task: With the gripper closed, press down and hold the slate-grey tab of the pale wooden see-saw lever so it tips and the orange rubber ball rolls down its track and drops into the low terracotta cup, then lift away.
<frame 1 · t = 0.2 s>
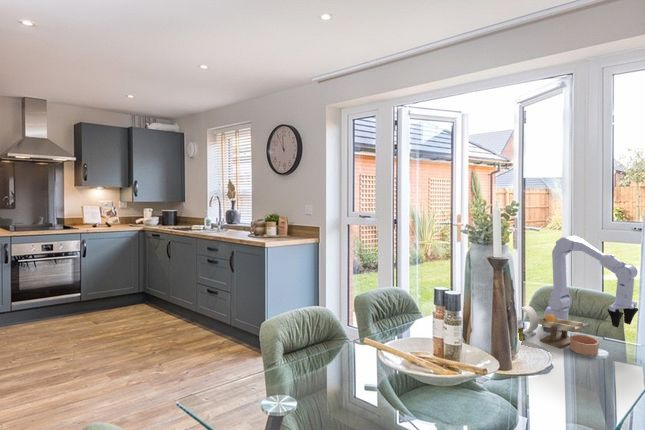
hand: (621, 325, 185), 10 cm above the table, tool pointing down, fingers open, 7 cm apart
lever: (564, 325, 193), point 7 cm above the table, hinge at -8.0°, touching ball
lever stand: (558, 341, 193), on the table
ball: (550, 318, 195), point 9 cm above the table, tilted 6°, touching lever
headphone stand: (528, 334, 201), on the table
pill bottle: (514, 343, 192), on the table
cup: (583, 349, 184), on the table
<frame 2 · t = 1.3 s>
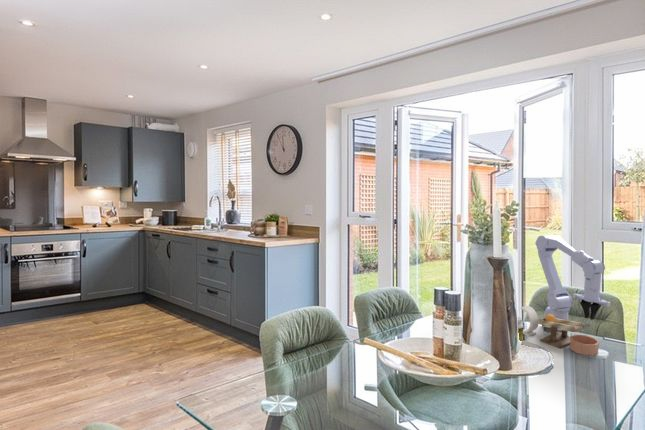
hand: (589, 318, 192), 10 cm above the table, tool pointing down, fingers closed
nothing on the table moved.
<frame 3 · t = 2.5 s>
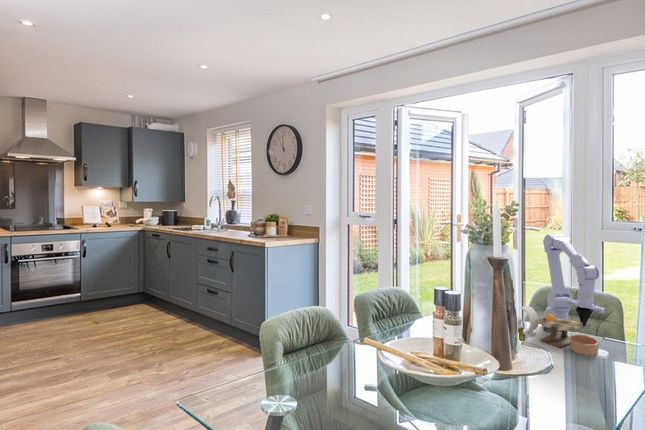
hand: (583, 324, 189), 9 cm above the table, tool pointing down, fingers closed, pressing on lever
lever: (564, 325, 193), point 7 cm above the table, hinge at -8.0°, touching ball, gripper
everything else where it was.
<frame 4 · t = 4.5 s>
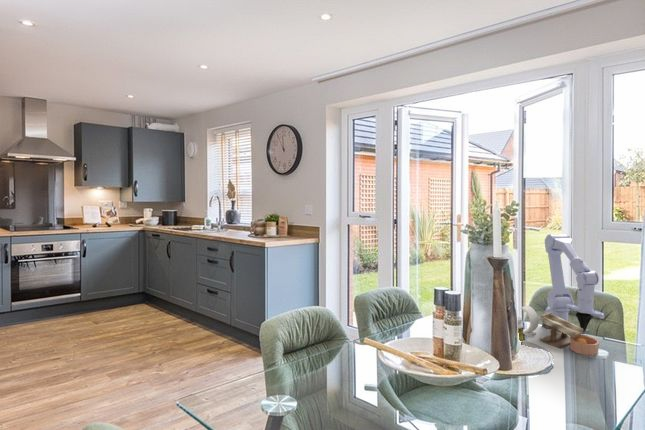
hand: (583, 329, 189), 6 cm above the table, tool pointing down, fingers closed, pressing on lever
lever: (564, 325, 193), point 7 cm above the table, hinge at 9.7°, touching gripper
ball: (581, 343, 185), point 3 cm above the table, tilted 12°, touching cup
everything else where it was.
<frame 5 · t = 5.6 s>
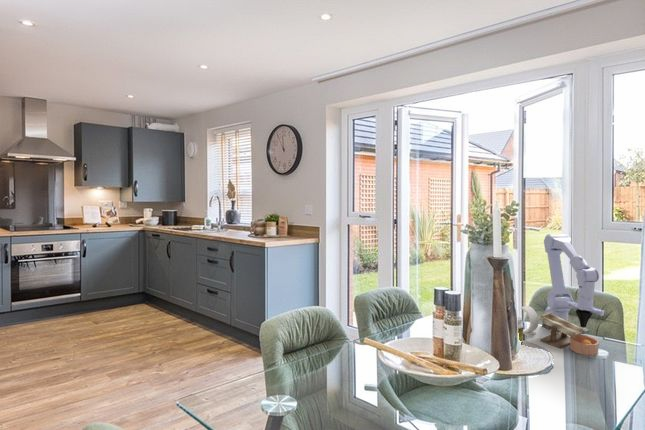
hand: (583, 326, 189), 8 cm above the table, tool pointing down, fingers closed
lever: (564, 325, 193), point 7 cm above the table, hinge at 9.7°
ball: (586, 344, 183), point 3 cm above the table, tilted 70°, touching cup
everything else where it was.
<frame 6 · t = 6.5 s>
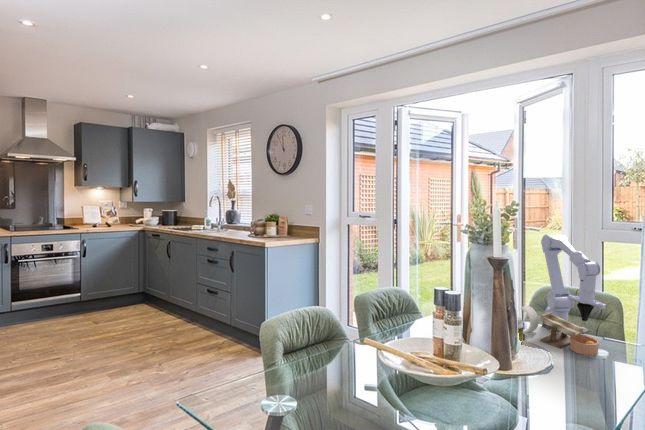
hand: (584, 320, 190), 10 cm above the table, tool pointing down, fingers closed
ball: (590, 346, 182), point 3 cm above the table, tilted 113°, touching cup
everything else where it was.
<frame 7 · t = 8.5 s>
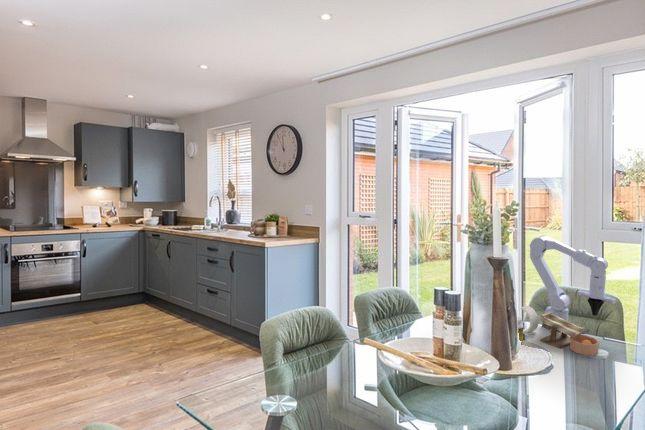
hand: (594, 315, 196), 10 cm above the table, tool pointing down, fingers closed
ball: (586, 344, 183), point 3 cm above the table, tilted 70°, touching cup
everything else where it was.
at the end: ball inside the target area on the cup (0.9 cm from its centre), point 2.6 cm above the cup's base; ball touching cup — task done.
